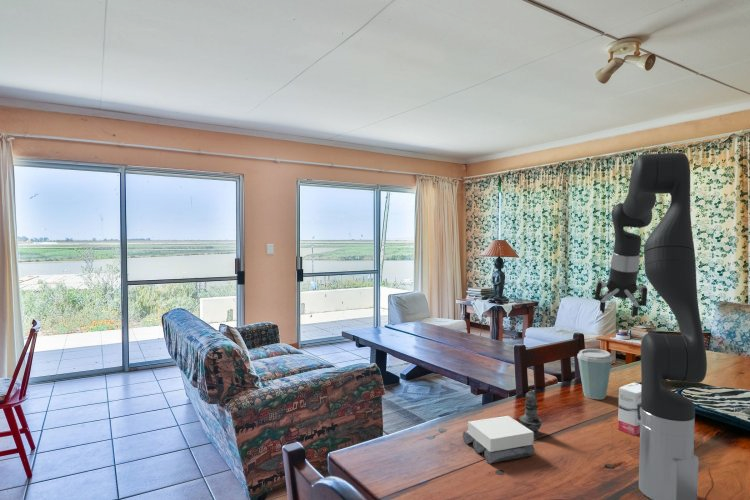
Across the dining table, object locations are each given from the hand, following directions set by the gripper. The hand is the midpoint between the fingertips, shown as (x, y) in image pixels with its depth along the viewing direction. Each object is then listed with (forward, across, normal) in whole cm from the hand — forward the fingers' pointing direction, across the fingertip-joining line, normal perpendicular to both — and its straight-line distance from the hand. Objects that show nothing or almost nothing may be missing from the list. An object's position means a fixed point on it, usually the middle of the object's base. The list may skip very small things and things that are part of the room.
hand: (617, 314), depth 140 cm
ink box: (+22, +5, -28) cm, 36 cm away
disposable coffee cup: (+28, -4, -6) cm, 29 cm away
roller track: (+16, -27, -57) cm, 64 cm away
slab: (+13, -27, -56) cm, 63 cm away
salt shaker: (+19, -21, -43) cm, 51 cm away
